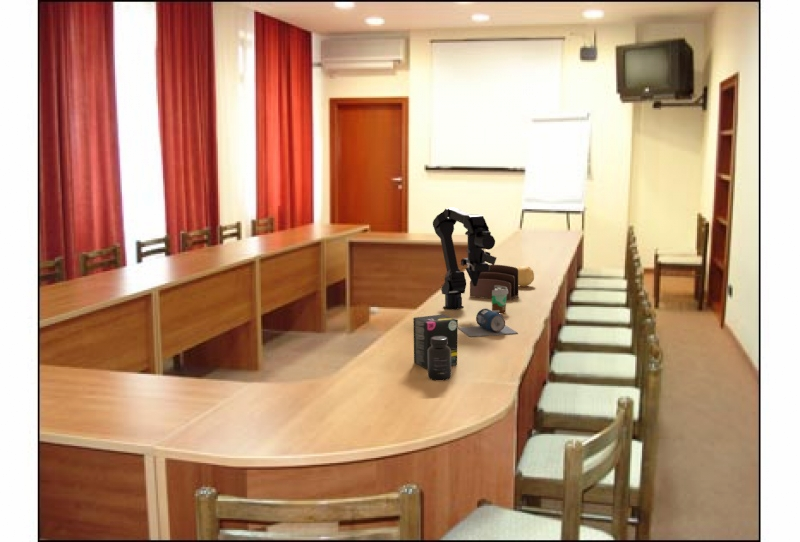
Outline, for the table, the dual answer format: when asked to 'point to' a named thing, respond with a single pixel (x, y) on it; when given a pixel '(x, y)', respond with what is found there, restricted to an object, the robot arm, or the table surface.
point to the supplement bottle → (439, 359)
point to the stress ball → (525, 276)
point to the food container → (499, 299)
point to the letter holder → (496, 281)
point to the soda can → (490, 320)
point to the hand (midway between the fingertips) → (474, 285)
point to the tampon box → (434, 327)
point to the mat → (485, 331)
